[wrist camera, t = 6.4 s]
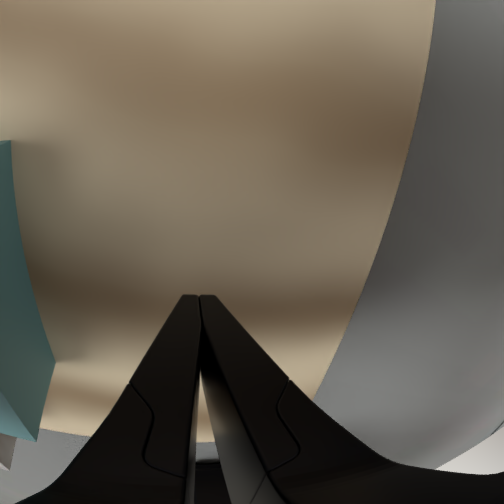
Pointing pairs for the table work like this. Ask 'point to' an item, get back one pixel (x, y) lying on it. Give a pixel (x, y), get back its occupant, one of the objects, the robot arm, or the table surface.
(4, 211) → the teal t-shaped block
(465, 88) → the table surface
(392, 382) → the table surface
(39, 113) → the wooden base board
